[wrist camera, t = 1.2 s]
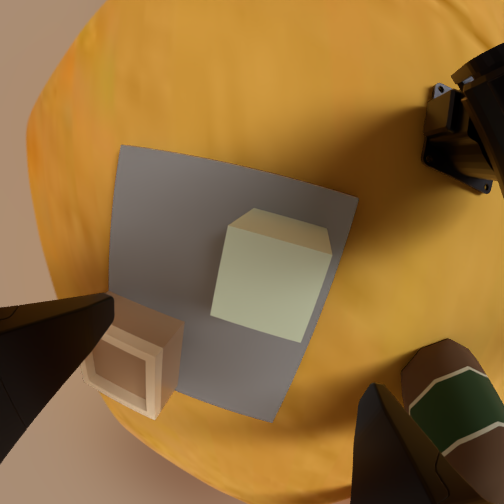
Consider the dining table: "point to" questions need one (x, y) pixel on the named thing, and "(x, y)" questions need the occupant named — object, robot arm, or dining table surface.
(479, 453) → the beer bottle
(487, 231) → the dining table surface
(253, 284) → the green block
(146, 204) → the board
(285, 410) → the dining table surface
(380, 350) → the dining table surface
